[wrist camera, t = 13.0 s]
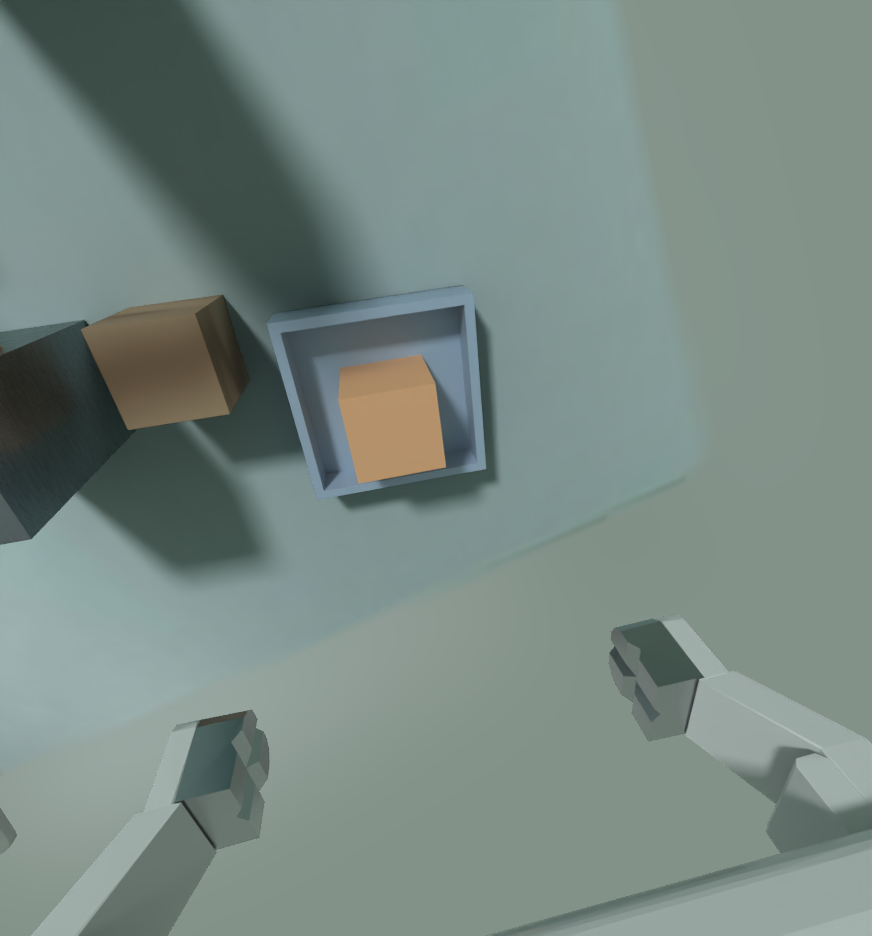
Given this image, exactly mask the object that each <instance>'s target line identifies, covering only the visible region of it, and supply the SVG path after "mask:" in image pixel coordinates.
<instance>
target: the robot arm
mask: <svg viewBox="0 0 872 936" xmlns="http://www.w3.org/2000/svg"><path fill="white" fill-rule="evenodd" d="M611 641H612V642H613V644H614V646H615V647H614V648H613V649H612V650H611V652H610V653H609V665H610V670H611V674H612V677H613V679H614V682H615V684H616V686H617V688H618V690H619V691H620V693H621V695H622V696H624V697H626V698H627V699H629V700H630V701H632V702H633V708H632V714H633V716H634V717H635V719H636V721H637V723H638V724H639V726H640V728H641V730H642V731H643V733H644V735H645V736H646V738H647V740H648V741H652V740H657V739H661V738H666V737H671V736H676V735H680V734H685V733H686V736H687V737H688V738H690V739H691V740H692V741H694V742H695V743H696V744H697V745H699V746H700V747H701V748H703V749H704V750H705V751H707V752H708V753H709V754H711V755H712V756H713V757H715V758H716V759H717V760H719V761H720V762H721V763H722V764H724V765H725V766H726V767H728V768H729V769H731V770H732V771H733V772H734V773H736V774H737V775H738V776H740V777H741V778H742V779H744V780H745V781H746V782H748V783H749V784H750V785H752V786H753V787H754V788H756V789H757V790H758V791H760V792H761V793H762V794H763V795H765V796H766V797H767V798H769V799H770V800H771V801H773V802H774V803H775V804H776V805H775V808H774V810H773V812H772V814H771V817H770V819H769V821H768V824H767V829H766V832H767V834H768V836H769V837H770V839H771V840H772V842H773V843H774V845H775V846H776V847H777V849H778V850H779V852H780V853H781V854H777V855H774V856H770V857H767V858H763V859H760V860H756V861H752V862H749V863H745V864H741V865H738V866H734V867H731V868H727V869H723V870H720V871H716V872H713V873H709V874H706V875H702V876H698V877H695V878H691V879H688V880H684V881H681V882H677V883H673V884H670V885H666V886H663V887H659V888H655V889H652V890H648V891H644V892H641V893H638V894H634V895H630V896H626V897H623V898H619V899H616V900H612V901H608V902H605V903H601V904H598V905H594V906H591V907H587V908H583V909H580V910H576V911H573V912H569V913H565V914H562V915H558V916H555V917H551V918H547V919H544V920H540V921H537V922H533V923H530V924H526V925H523V926H519V927H515V928H512V929H508V930H504V931H501V932H497V933H494V934H490V935H487V936H872V744H871V743H870V742H869V741H868V740H867V739H866V738H864V737H862V736H860V735H858V734H856V733H854V732H852V731H850V730H849V729H847V728H845V727H843V726H841V725H839V724H837V723H835V722H833V721H831V720H829V719H827V718H825V717H823V716H822V715H819V714H818V713H815V712H814V711H812V710H810V709H808V708H806V707H804V706H802V705H800V704H798V703H796V702H794V701H792V700H790V699H789V698H786V697H785V696H783V695H781V694H779V693H777V692H775V691H773V690H771V689H769V688H767V687H765V686H763V685H761V684H759V683H758V682H756V681H754V680H752V679H750V678H748V677H746V676H744V675H742V674H740V673H738V672H736V671H731V672H728V671H727V670H726V668H725V667H724V666H723V665H722V664H721V662H720V661H719V660H718V659H717V658H716V657H715V655H714V654H713V653H712V652H711V651H710V650H709V648H708V647H707V646H706V645H705V644H704V643H703V641H702V640H701V639H700V638H699V637H698V636H697V634H696V633H695V632H694V631H693V630H692V628H691V627H690V626H689V625H688V624H687V623H686V621H685V620H684V619H683V618H682V617H681V616H679V615H677V614H675V615H669V616H665V617H661V618H656V619H650V620H645V621H641V622H637V623H633V624H629V625H624V626H620V627H616V628H614V629H613V631H612V632H611ZM256 723H257V718H256V716H255V714H254V712H253V710H248V711H243V712H238V713H233V714H228V715H223V716H218V717H213V718H208V719H202V720H198V721H194V722H189V723H184V724H179V725H176V727H175V728H174V729H173V731H172V732H171V734H170V736H169V739H168V742H167V745H166V748H165V751H164V754H163V757H162V760H161V763H160V766H159V769H158V772H157V774H156V777H155V780H154V783H153V786H152V789H151V792H150V795H149V798H148V801H147V803H146V806H145V809H144V811H141V812H138V813H136V814H135V815H134V816H133V817H132V818H131V820H130V821H129V822H128V823H127V824H126V826H125V827H124V828H123V829H122V830H121V831H120V833H119V834H118V835H117V836H116V837H115V838H114V839H113V841H112V842H111V843H110V844H109V845H108V846H107V848H106V849H105V850H104V851H103V852H102V853H101V855H100V856H99V857H98V858H97V859H96V861H95V862H94V863H93V864H92V865H91V866H90V868H89V869H88V870H87V871H86V872H85V873H84V875H83V876H82V877H81V878H80V879H79V880H78V882H77V883H76V884H75V885H74V886H73V888H72V889H71V890H70V891H69V892H68V893H67V894H66V896H65V897H64V898H63V899H62V900H61V901H60V903H59V904H58V905H57V906H56V907H55V908H54V910H53V911H52V912H51V913H50V914H49V916H48V917H47V918H46V919H45V920H44V921H43V922H42V924H41V925H40V926H39V927H38V928H37V930H36V931H35V932H34V933H33V934H32V935H31V936H168V934H169V932H170V931H171V929H172V927H173V926H174V924H175V922H176V921H177V919H178V917H179V915H180V914H181V912H182V910H183V909H184V907H185V905H186V904H187V902H188V900H189V898H190V897H191V895H192V893H193V892H194V890H195V888H196V887H197V885H198V883H199V881H200V880H201V878H202V876H203V875H204V873H205V871H206V869H207V868H208V866H209V865H210V863H211V861H212V859H213V858H214V856H215V854H216V851H215V850H217V849H221V848H224V847H228V846H231V845H235V844H238V843H242V842H245V841H249V840H253V839H257V838H259V835H260V829H261V822H262V814H263V808H264V800H263V798H262V796H261V794H260V792H259V790H260V789H261V787H262V786H263V785H264V783H265V781H266V780H267V779H268V772H269V771H268V770H269V747H268V743H267V738H266V736H265V734H264V732H263V731H261V730H259V729H257V728H256ZM15 837H16V832H15V830H14V829H13V827H12V826H11V824H10V823H9V821H8V819H7V818H6V817H5V815H4V813H3V812H2V811H1V809H0V854H2V853H3V852H4V851H5V850H7V849H8V848H9V847H10V845H11V844H12V842H13V841H14V839H15Z"/></svg>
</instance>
